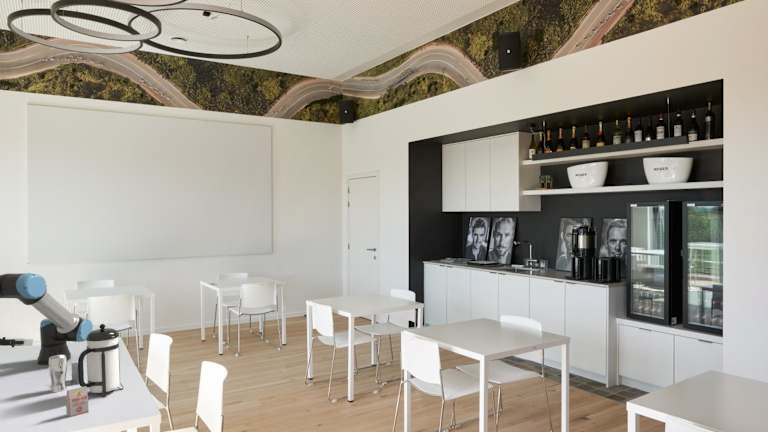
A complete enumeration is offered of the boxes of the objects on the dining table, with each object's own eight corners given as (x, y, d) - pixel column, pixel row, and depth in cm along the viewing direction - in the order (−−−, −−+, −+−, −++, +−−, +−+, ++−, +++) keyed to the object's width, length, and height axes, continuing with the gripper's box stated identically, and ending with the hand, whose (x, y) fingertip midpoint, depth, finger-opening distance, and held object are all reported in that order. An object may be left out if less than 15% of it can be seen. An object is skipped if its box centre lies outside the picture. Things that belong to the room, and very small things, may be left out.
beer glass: (71, 388, 235) (70, 355, 234) (57, 393, 228) (56, 359, 228) (60, 386, 237) (58, 353, 237) (45, 392, 230) (44, 358, 230)
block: (77, 384, 239) (76, 367, 239) (72, 380, 246) (71, 363, 246) (83, 383, 241) (82, 366, 241) (77, 379, 247) (77, 362, 247)
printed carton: (66, 414, 204) (65, 389, 204) (85, 409, 209) (85, 385, 208) (69, 417, 201) (68, 391, 201) (88, 412, 206) (87, 387, 206)
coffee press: (84, 389, 232) (82, 322, 231) (124, 384, 238) (122, 318, 238) (78, 403, 216) (76, 331, 216) (122, 396, 222) (119, 326, 222)
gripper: (-42, 350, 219) (18, 350, 235) (-28, 352, 203) (34, 352, 218) (-38, 332, 221) (20, 332, 236) (-25, 333, 205) (37, 333, 220)
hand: (27, 342), depth 227 cm, fingers open, 13 cm apart
